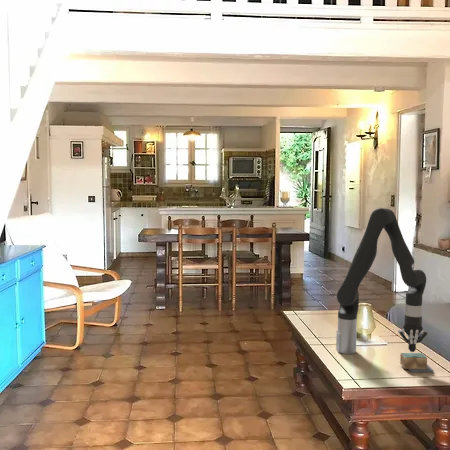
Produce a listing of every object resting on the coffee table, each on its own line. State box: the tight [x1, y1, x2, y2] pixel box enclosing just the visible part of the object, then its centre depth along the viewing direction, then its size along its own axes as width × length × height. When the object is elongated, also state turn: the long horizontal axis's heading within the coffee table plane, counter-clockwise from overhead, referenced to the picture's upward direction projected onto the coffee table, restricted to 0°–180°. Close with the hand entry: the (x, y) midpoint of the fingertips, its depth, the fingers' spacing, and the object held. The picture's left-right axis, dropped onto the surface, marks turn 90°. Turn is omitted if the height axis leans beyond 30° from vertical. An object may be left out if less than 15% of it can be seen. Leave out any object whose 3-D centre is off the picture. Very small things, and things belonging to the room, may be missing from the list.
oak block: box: [399, 352, 428, 370], centre depth 233 cm, size 5×6×10 cm
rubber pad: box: [408, 363, 435, 374], centre depth 234 cm, size 10×10×1 cm
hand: (412, 351), depth 233 cm, fingers closed
